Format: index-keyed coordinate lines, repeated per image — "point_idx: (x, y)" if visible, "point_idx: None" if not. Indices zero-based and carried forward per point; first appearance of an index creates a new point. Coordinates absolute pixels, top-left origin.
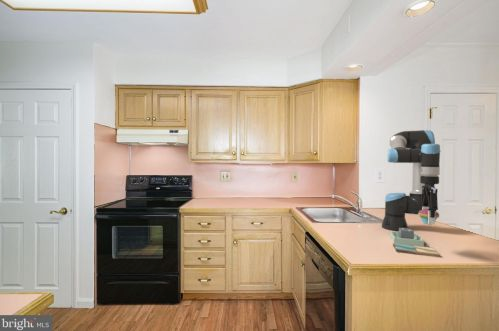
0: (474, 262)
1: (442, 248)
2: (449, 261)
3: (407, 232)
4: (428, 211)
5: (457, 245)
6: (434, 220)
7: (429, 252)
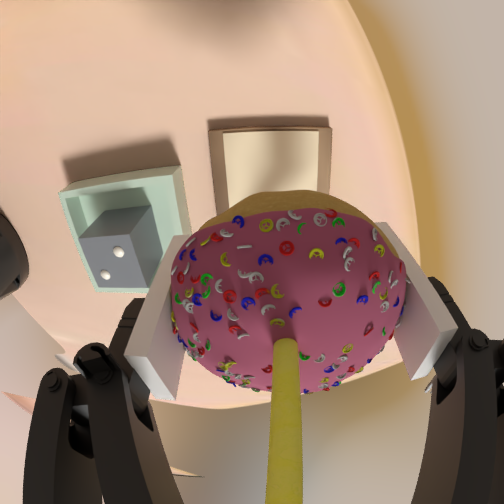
0: (339, 9)
1: (162, 82)
2: (371, 108)
3: (141, 257)
4: (410, 364)
5: (81, 26)
6: (401, 250)
7: (314, 169)
